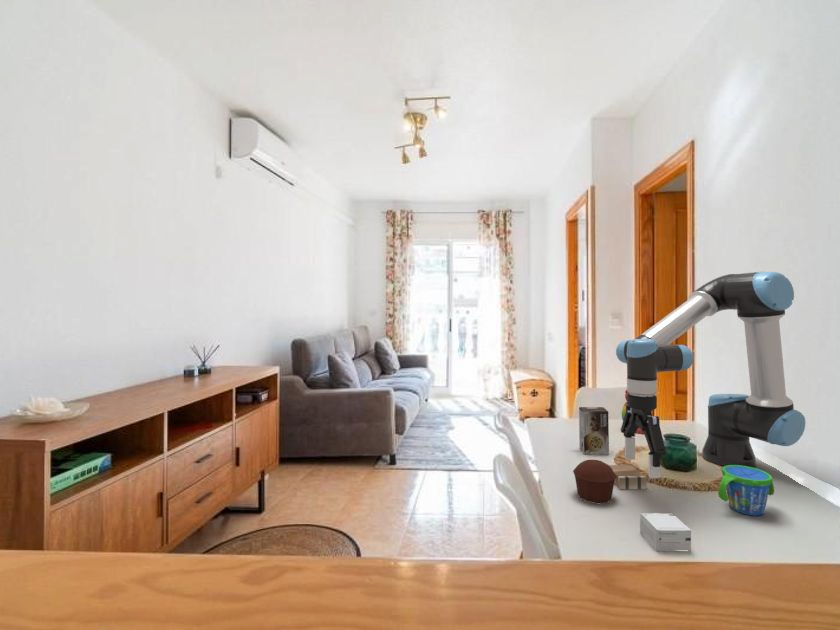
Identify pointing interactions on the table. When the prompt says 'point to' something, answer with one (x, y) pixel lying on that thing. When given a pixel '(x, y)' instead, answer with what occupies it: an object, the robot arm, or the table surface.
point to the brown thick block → (628, 477)
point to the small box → (665, 532)
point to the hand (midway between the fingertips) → (641, 468)
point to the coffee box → (593, 430)
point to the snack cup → (745, 488)
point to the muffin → (594, 481)
